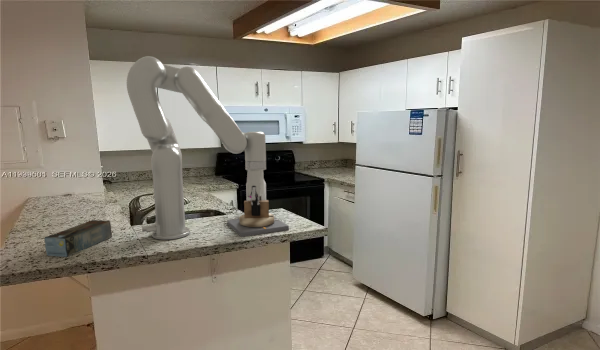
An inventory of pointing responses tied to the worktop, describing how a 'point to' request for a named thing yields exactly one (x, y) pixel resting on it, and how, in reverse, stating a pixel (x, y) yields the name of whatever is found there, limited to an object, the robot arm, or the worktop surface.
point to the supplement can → (262, 194)
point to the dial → (256, 221)
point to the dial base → (249, 231)
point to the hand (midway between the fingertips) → (257, 213)
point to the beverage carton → (77, 238)
